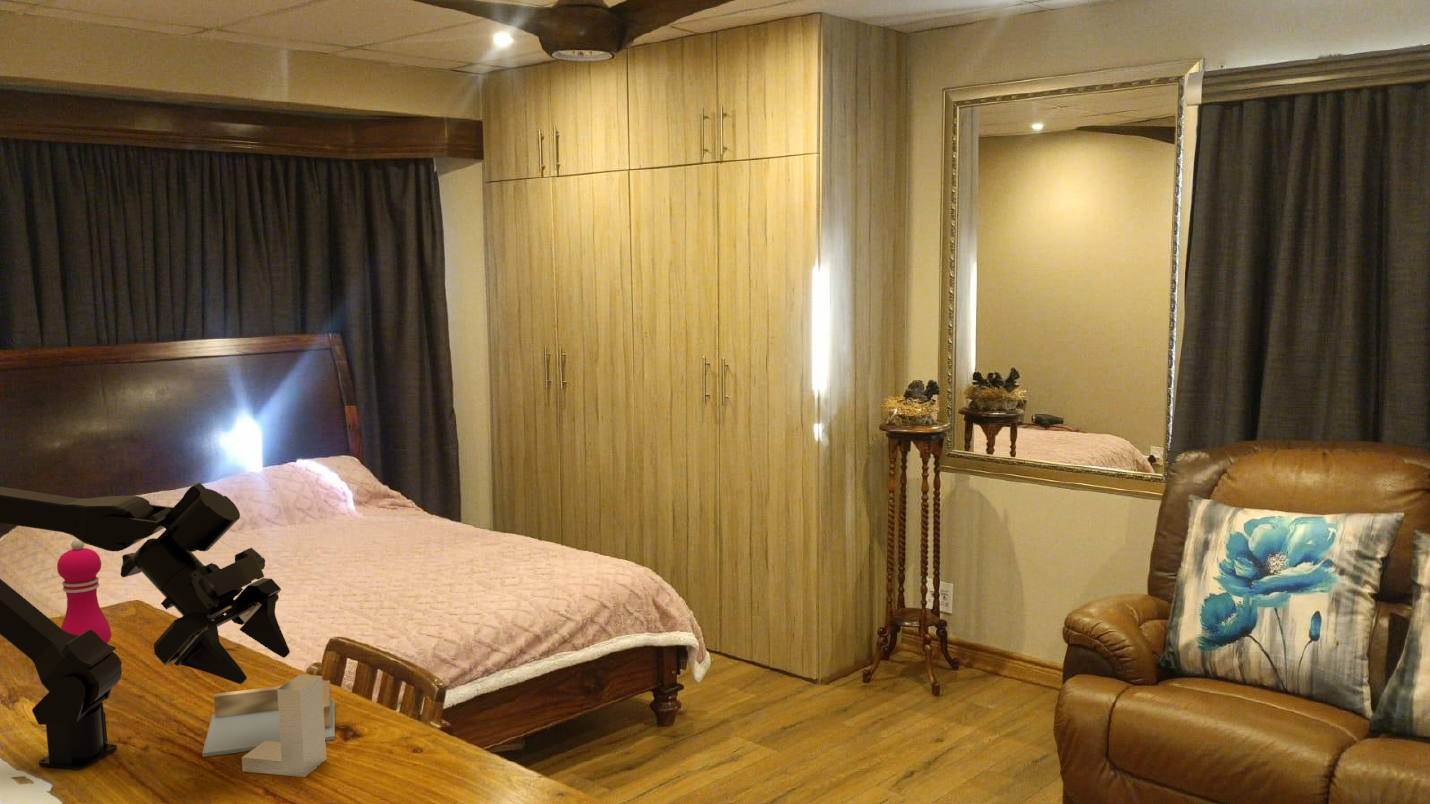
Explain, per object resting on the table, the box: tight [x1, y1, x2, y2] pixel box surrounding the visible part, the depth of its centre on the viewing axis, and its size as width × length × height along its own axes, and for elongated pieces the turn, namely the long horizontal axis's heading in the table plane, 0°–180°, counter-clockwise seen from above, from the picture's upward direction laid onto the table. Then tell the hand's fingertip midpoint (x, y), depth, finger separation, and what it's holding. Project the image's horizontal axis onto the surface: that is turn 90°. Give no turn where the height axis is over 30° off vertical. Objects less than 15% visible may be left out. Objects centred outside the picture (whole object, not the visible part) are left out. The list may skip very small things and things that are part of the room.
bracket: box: [241, 674, 328, 778], centre depth 145 cm, size 8×5×11 cm, turn 78°
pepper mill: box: [56, 538, 112, 644], centre depth 181 cm, size 7×7×20 cm
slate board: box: [201, 699, 336, 758], centre depth 156 cm, size 16×13×1 cm
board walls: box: [213, 680, 332, 728], centre depth 158 cm, size 15×10×4 cm, turn 108°
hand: (266, 667), depth 144 cm, fingers open, 9 cm apart
